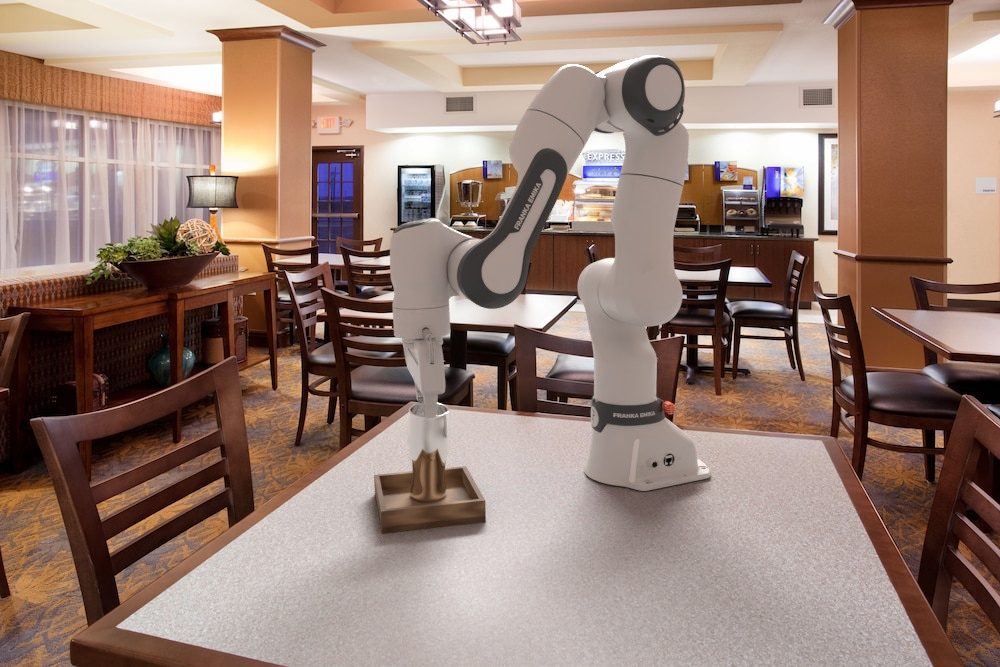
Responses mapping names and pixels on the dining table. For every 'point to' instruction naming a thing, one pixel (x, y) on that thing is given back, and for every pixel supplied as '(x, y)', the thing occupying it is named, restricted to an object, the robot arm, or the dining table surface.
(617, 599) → the dining table surface
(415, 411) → the beer glass
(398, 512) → the walnut tray
